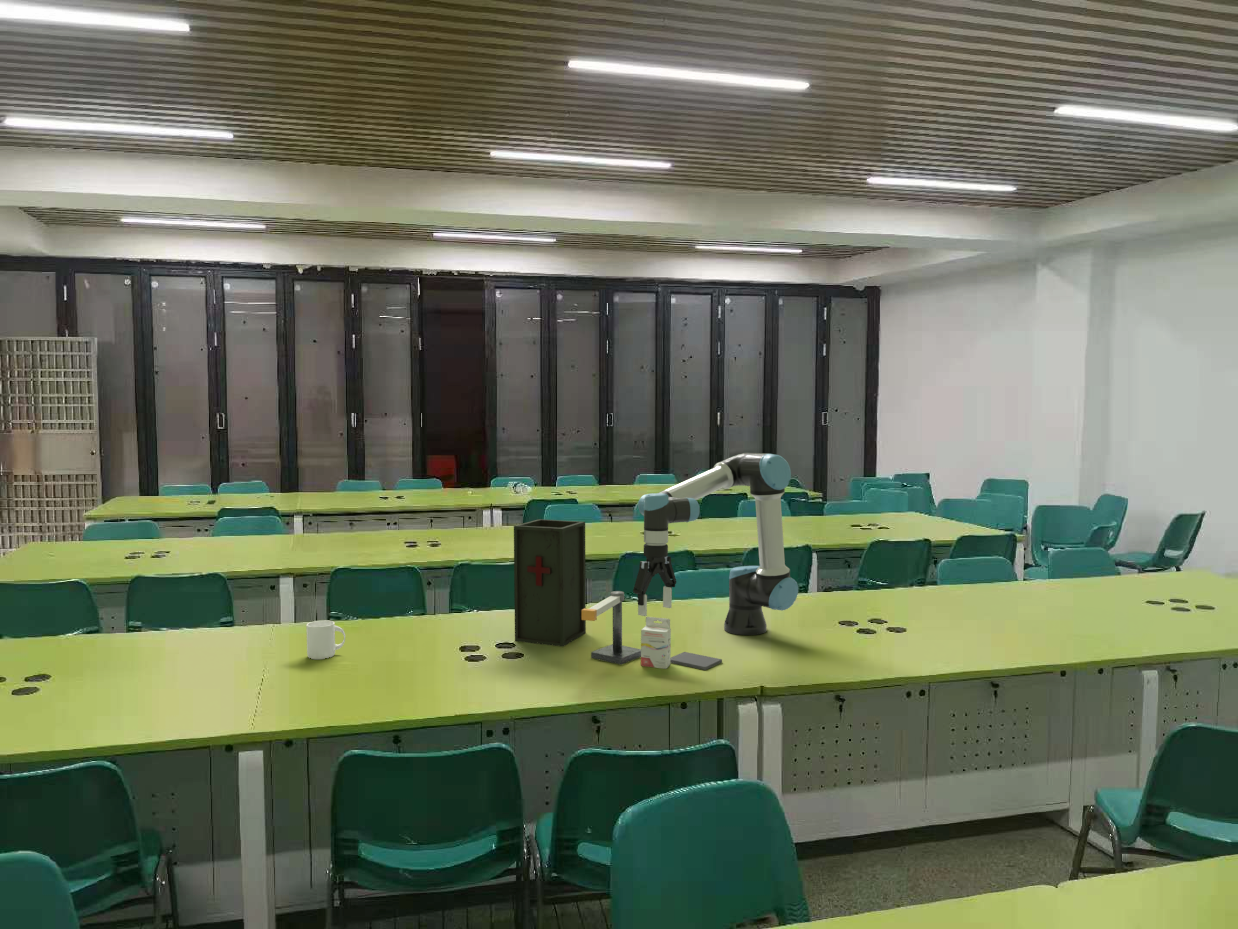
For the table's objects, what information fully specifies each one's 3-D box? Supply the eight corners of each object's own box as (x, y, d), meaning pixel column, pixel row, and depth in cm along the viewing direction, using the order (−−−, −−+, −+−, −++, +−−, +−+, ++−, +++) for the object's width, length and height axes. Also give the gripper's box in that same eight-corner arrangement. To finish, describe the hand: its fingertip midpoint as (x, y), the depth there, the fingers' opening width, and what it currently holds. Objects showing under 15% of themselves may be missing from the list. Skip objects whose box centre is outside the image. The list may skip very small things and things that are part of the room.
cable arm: (613, 600, 279) (613, 590, 279) (626, 601, 277) (626, 591, 277) (580, 619, 254) (580, 609, 254) (594, 621, 252) (594, 610, 252)
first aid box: (514, 641, 296) (513, 525, 293) (539, 628, 313) (538, 519, 310) (563, 646, 289) (562, 528, 286) (585, 633, 306) (585, 521, 303)
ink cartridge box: (640, 666, 267) (640, 619, 266) (644, 662, 272) (645, 616, 271) (666, 669, 264) (666, 622, 263) (671, 664, 269) (671, 618, 268)
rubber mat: (684, 654, 280) (684, 651, 279) (721, 662, 271) (721, 659, 271) (667, 662, 272) (667, 659, 272) (705, 670, 263) (705, 667, 263)
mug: (348, 656, 279) (347, 623, 278) (309, 661, 273) (308, 628, 272) (343, 649, 286) (342, 617, 286) (305, 654, 281) (304, 622, 280)
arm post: (613, 649, 286) (613, 596, 284) (643, 655, 278) (643, 601, 277) (591, 658, 276) (591, 602, 275) (621, 664, 269) (621, 608, 268)
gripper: (668, 537, 278) (667, 602, 279) (621, 547, 258) (621, 617, 259) (687, 540, 273) (686, 606, 275) (642, 549, 253) (641, 620, 255)
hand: (655, 611), depth 267 cm, fingers open, 13 cm apart
